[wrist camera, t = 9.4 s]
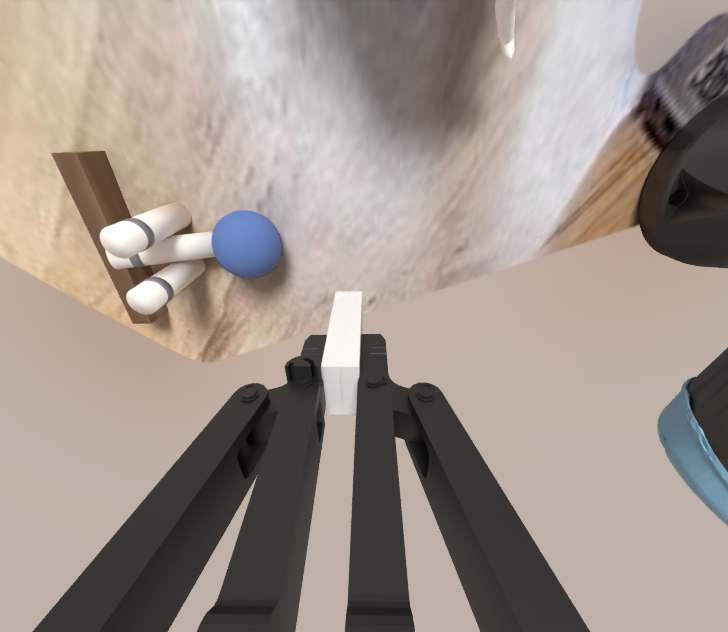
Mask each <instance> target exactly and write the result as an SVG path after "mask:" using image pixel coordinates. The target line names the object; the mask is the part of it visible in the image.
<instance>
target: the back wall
mask: <svg viewBox="0 0 728 632" xmlns="http://www.w3.org/2000/svg"><path fill="white" fill-rule="evenodd" d="M51 154H52V156H53V158H54V160H55V162H56V164H57V166H58V168H59V171H60V173H61V175H62V177H63V179H64V181H65V183H66V185H67V187H68V189H69V191H70V193H71V196H72V198H73V200H74V202H75V204H76V206H77V208H78V210H79V212H80V214H81V216H82V218H83V221H84V223H85V225H86V227H87V229H88V231H89V233H90V235H91V237H92V239H93V241H94V243H95V246H96V248H97V250H98V252H99V254H100V256H101V258H102V260H103V262H104V264H105V266H106V268H107V271H108V273H109V275H110V277H111V279H112V281H113V283H114V285H115V287H116V289H117V291H118V293H119V296H120V298H121V300H122V302H123V304H124V306H125V308H126V310H127V312H128V314H129V316H130V318H131V321H132V323H133V324H151V323H153V322H154V321H155V320H156V319H157V318H158V317H160V316H161V315H162V314H163V313H164V312H165V311H166V310H168V309H167V307H166V304H165V305H164V306H162V307H161V308H160V309H158V310H157V311H156V312H155V313H153V314H150V315H145V314H141V313H138V312H137V311H135V310H134V309H132V308H131V307H130V305H129V304H128V302H127V299H126V295H127V293H128V291H129V290H131V289H133V288H134V287H136V286H137V285H139V284H140V283H141V282H142V281H144V280H145V279H147V278H149V277H151V276H153V275H154V274H153V272H152V269H151V267H150V265H148V266H144V267H132V268H124V269H115V268H113V267H112V265H111V264H110V262H109V260H108V258H107V255H106V250H105V248H104V247H103V245H102V243H101V241H100V232H101V230H102V229H103V228H105V227H108V226H110V225H113V224H116V223H117V222H119V221H122V220H124V219H127V218H131V216H130V214H129V211H128V209H127V206H126V204H125V201H124V199H123V196H122V194H121V191H120V189H119V186H118V184H117V181H116V179H115V176H114V174H113V171H112V169H111V166H110V164H109V161H108V159H107V156H106V154H105V151H80V152H62V153H51Z"/></svg>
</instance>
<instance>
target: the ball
mask: <svg viewBox="0 0 728 632" xmlns="http://www.w3.org/2000/svg"><path fill="white" fill-rule="evenodd" d="M211 243H212V250H213V253H214V255H215V257H216V259H217V261H218V262H219V263H220V265H221V266H222V267H223V268H224V269H225V270H227V271H228V272H230V273H232V274H234V275H236V276H239V277H243V278H257V277H260V276H263V275H265V274H267V273H269V272H270V271H271V270H272V269H274V267H275V266H276V265H277V263H278V262H279V260H280V257H281V253H282V241H281V237H280V234H279V232H278V230H277V228H276V227H275V226H274V224H273V223H272V222H271V221H270V220H269V219H267V218H266V217H264V216H263V215H261V214H258V213H256V212H252V211H235V212H232V213H230V214H228V215H226V216H225V217H223V218H222V219H221V220H220V221H219V222H218V223H217V225H216V226H215V228H214V231H213V234H212V242H211Z"/></svg>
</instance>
